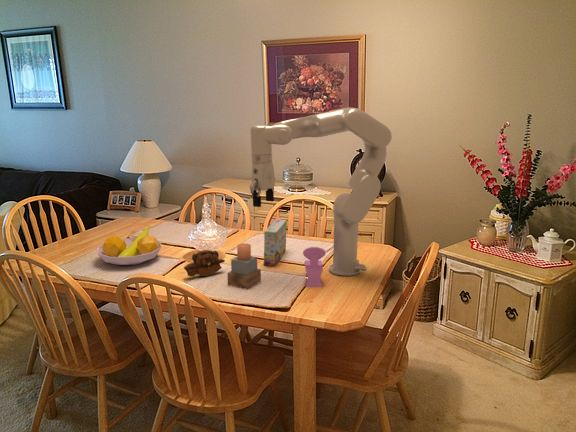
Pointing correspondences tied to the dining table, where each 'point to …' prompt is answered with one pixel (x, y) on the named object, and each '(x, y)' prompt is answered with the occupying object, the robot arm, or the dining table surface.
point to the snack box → (274, 242)
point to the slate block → (244, 266)
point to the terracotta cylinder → (244, 252)
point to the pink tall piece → (313, 266)
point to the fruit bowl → (129, 249)
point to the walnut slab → (244, 279)
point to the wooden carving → (204, 263)
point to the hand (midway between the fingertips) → (263, 203)
